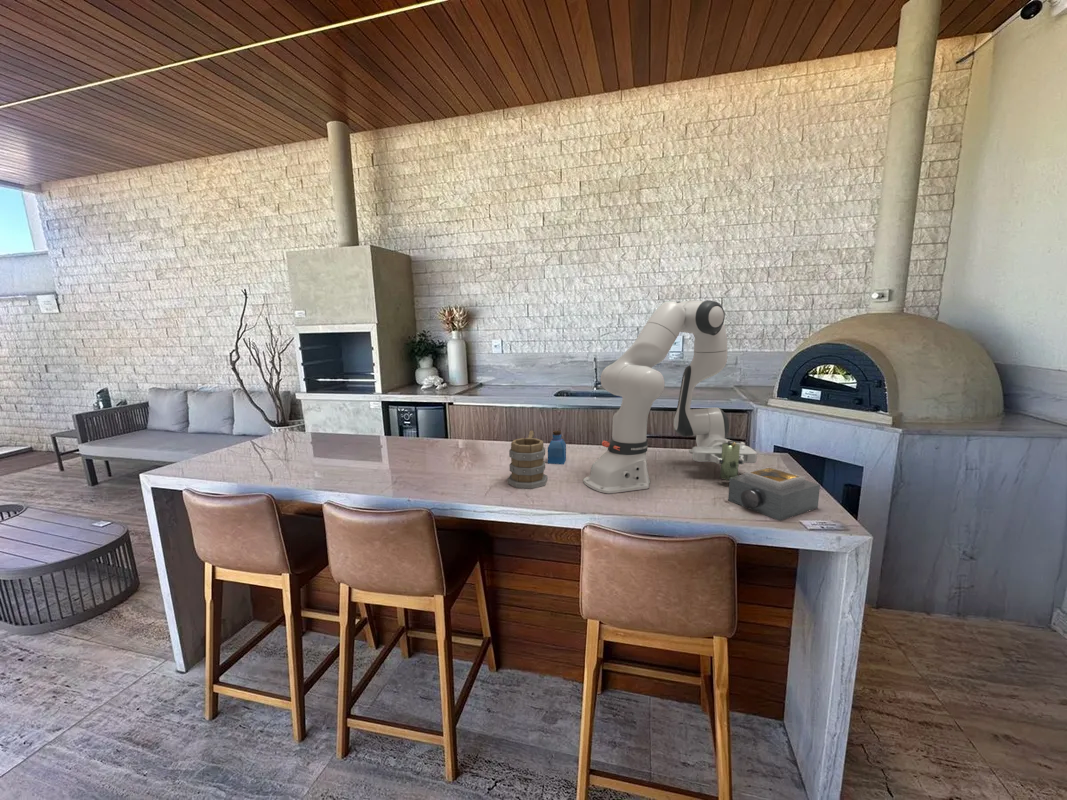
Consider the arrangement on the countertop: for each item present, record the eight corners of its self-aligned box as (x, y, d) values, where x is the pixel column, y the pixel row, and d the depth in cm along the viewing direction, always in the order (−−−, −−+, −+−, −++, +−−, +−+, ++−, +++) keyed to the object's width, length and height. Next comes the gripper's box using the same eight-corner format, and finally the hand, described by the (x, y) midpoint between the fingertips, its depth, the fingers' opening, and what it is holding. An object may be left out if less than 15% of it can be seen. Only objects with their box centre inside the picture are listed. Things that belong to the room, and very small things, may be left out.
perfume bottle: (563, 464, 166) (563, 433, 164) (547, 463, 167) (547, 432, 165) (565, 459, 172) (566, 429, 170) (550, 459, 173) (550, 429, 171)
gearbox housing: (775, 522, 115) (777, 489, 114) (723, 501, 129) (725, 472, 127) (817, 508, 124) (820, 477, 122) (765, 490, 138) (767, 462, 136)
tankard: (543, 489, 140) (543, 444, 137) (504, 487, 142) (504, 442, 140) (551, 470, 159) (551, 429, 157) (517, 468, 161) (517, 428, 159)
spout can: (718, 474, 145) (720, 437, 143) (734, 475, 145) (737, 438, 143) (723, 480, 139) (726, 442, 137) (741, 481, 139) (743, 442, 137)
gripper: (687, 440, 155) (697, 451, 141) (748, 442, 153) (764, 453, 139) (686, 457, 156) (696, 470, 142) (747, 459, 154) (763, 472, 140)
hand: (730, 461), depth 141 cm, fingers closed on spout can, 5 cm apart
